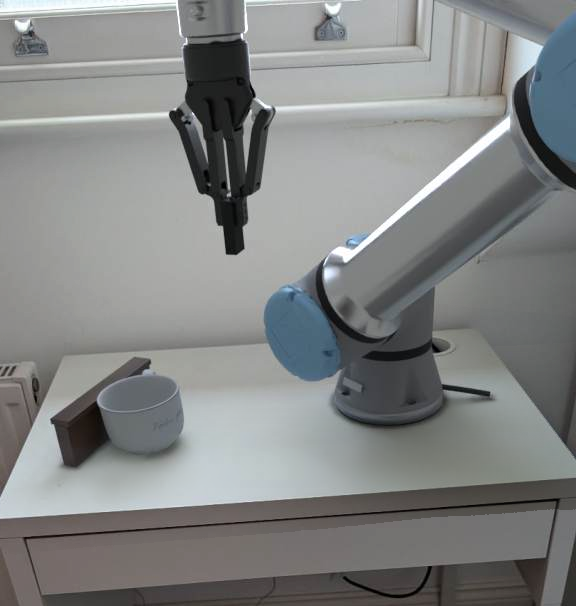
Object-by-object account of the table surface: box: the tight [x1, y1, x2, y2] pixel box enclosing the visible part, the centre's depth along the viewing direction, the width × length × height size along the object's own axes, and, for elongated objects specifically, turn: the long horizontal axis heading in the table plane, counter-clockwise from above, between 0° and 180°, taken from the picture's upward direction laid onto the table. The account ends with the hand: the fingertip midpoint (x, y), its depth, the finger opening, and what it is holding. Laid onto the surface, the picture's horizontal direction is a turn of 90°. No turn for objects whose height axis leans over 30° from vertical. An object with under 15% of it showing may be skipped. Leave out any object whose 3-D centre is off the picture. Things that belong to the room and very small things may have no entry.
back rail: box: [49, 356, 152, 468], centre depth 111 cm, size 3×20×7 cm, turn 157°
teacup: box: [97, 368, 185, 455], centre depth 109 cm, size 14×11×8 cm
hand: (235, 251), depth 103 cm, fingers closed
